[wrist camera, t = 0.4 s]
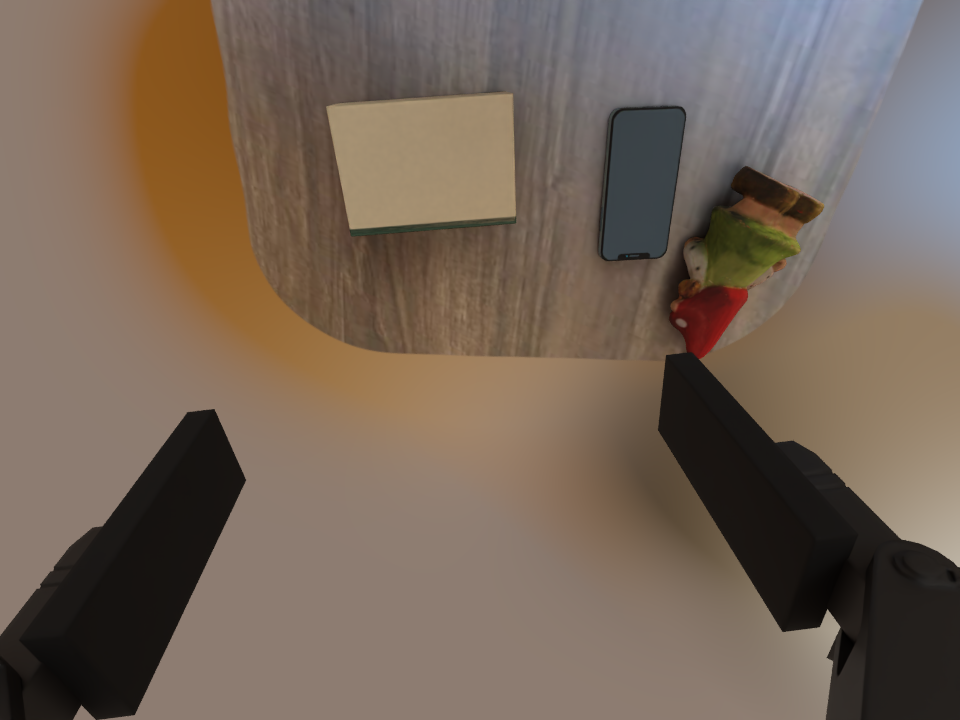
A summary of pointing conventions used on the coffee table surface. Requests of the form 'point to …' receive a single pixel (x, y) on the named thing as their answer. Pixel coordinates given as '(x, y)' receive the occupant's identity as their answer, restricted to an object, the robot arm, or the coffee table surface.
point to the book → (426, 162)
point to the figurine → (738, 255)
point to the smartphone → (640, 181)
